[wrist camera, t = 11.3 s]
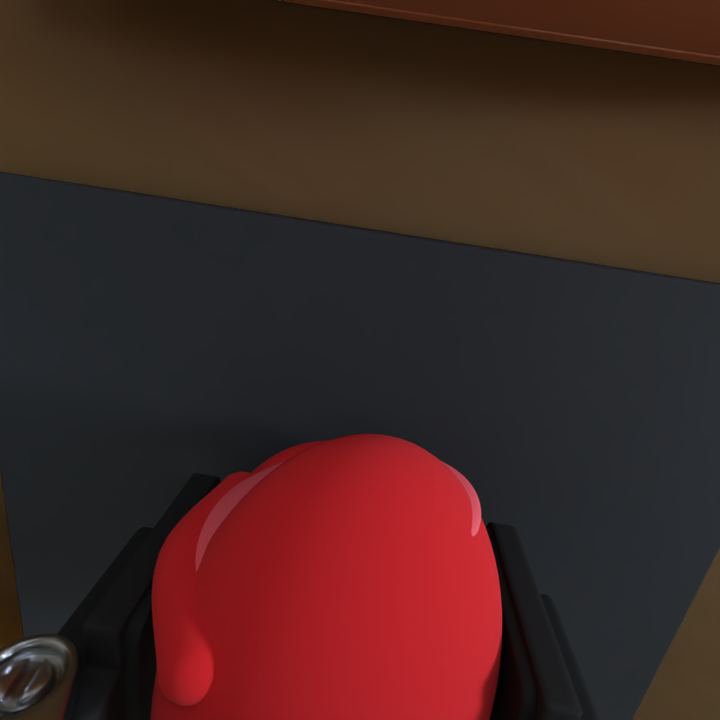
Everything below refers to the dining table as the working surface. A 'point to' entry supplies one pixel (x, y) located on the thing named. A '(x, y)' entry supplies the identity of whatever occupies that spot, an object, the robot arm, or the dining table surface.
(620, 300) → the mat
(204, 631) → the cap
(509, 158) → the dining table surface
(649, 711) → the dining table surface
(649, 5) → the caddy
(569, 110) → the dining table surface
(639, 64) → the dining table surface
